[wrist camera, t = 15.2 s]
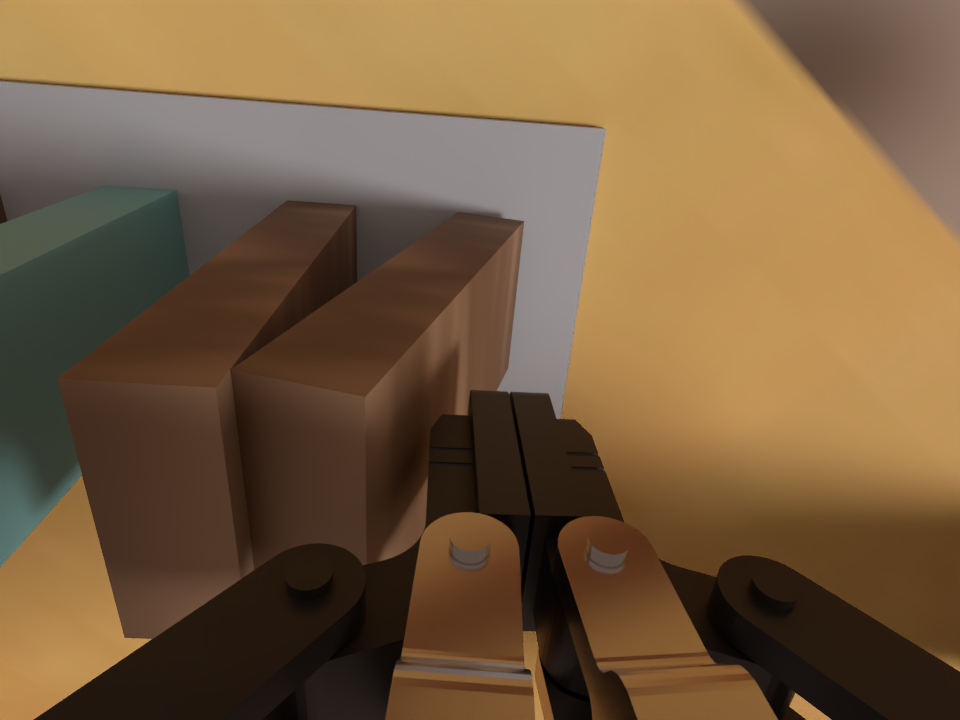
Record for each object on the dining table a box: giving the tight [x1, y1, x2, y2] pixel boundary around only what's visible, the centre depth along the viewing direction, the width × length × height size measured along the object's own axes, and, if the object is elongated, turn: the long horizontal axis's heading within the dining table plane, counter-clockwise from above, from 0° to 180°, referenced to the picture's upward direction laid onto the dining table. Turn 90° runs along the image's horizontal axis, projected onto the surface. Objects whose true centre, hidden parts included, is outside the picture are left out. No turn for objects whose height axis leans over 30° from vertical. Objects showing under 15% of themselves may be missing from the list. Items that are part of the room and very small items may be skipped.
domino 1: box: [0, 186, 190, 567], centre depth 13 cm, size 2×5×11 cm, turn 176°
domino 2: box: [57, 200, 357, 639], centre depth 14 cm, size 2×5×11 cm, turn 176°
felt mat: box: [0, 80, 606, 419], centre depth 19 cm, size 26×10×1 cm, turn 86°
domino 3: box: [231, 212, 524, 570], centre depth 14 cm, size 2×5×11 cm, turn 176°
